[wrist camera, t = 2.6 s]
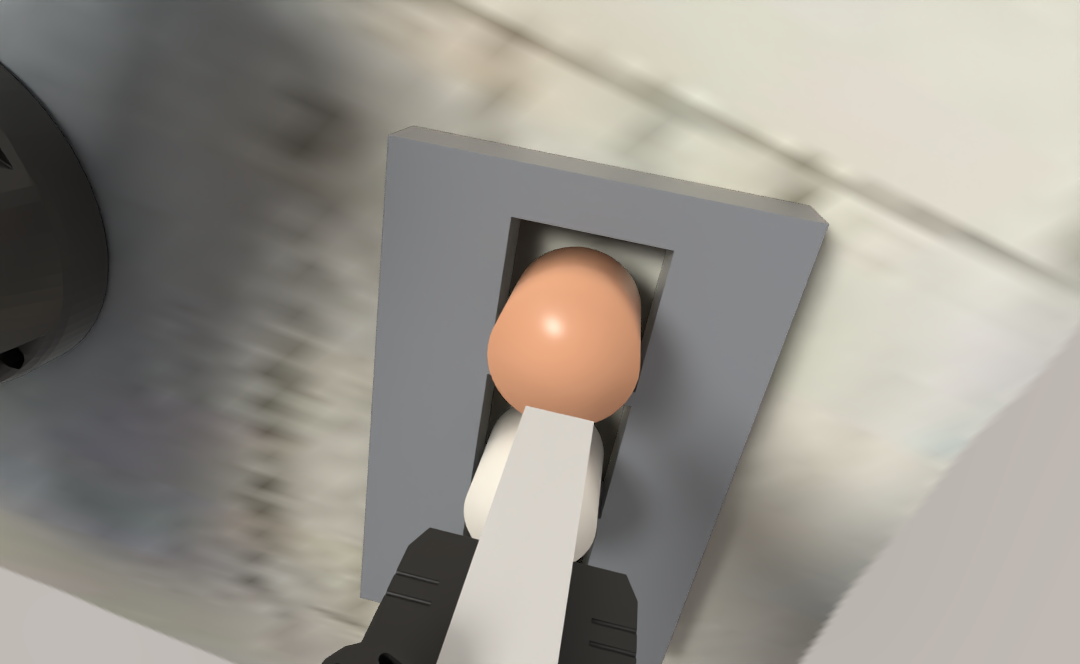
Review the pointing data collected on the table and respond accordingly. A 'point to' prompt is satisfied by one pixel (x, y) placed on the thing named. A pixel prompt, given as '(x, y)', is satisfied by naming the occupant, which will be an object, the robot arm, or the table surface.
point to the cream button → (493, 468)
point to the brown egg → (569, 336)
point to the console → (665, 358)
